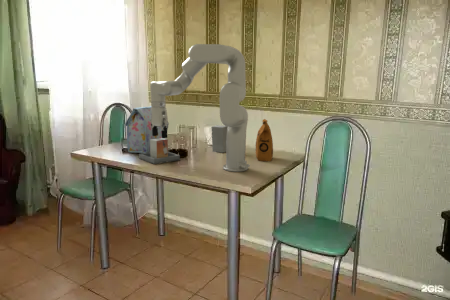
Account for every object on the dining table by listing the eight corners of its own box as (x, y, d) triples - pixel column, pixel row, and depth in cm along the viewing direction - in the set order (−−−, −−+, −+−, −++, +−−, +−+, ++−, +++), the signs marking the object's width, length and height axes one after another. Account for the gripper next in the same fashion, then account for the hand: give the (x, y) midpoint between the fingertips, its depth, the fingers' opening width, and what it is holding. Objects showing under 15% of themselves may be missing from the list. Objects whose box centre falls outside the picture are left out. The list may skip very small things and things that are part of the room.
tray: (179, 159, 195) (179, 155, 194) (153, 164, 184) (153, 159, 184) (164, 154, 206) (164, 150, 206) (139, 158, 196) (138, 153, 196)
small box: (156, 160, 191) (156, 140, 188) (150, 158, 194) (149, 139, 192) (168, 157, 197) (168, 139, 194) (161, 156, 200) (161, 137, 198)
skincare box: (228, 151, 219) (229, 125, 216) (222, 153, 213) (223, 127, 210) (217, 149, 223) (217, 124, 220) (210, 151, 217) (211, 125, 214)
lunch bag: (143, 145, 232) (142, 104, 226) (167, 147, 226) (166, 105, 221) (123, 152, 211) (121, 107, 205) (148, 154, 205) (147, 108, 200)
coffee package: (254, 161, 195) (255, 121, 191) (255, 156, 207) (257, 118, 203) (272, 162, 194) (274, 121, 189) (272, 157, 206) (274, 119, 201)
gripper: (173, 105, 185) (174, 137, 189) (156, 103, 198) (157, 134, 201) (160, 106, 180) (162, 139, 184) (144, 104, 193) (145, 135, 197)
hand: (159, 136), depth 193 cm, fingers open, 9 cm apart
